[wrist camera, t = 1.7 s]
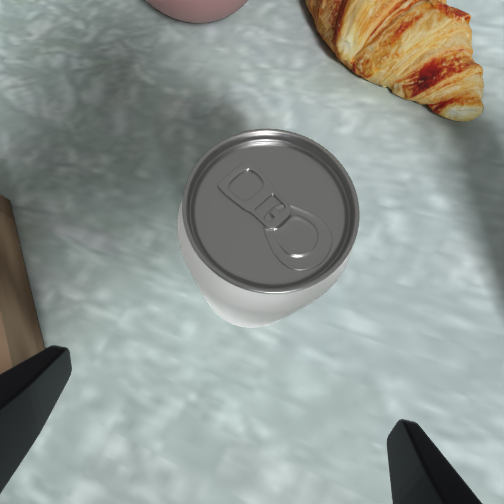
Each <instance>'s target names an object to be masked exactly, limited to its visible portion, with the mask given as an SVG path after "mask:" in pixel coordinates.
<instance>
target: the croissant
mask: <svg viewBox="0 0 504 504" xmlns="http://www.w3.org/2000/svg"><path fill="white" fill-rule="evenodd" d="M305 1H306V5H307V7H308V10H309V12H310V14H311V15H312V17H313V20H314V22H315V26H316V29H317V31H318V33H319V34H320V36H321V37H322V38H323V40H324V41H325V42H326V43H327V45H328V46H329V47H330V48H331V50H332V51H333V52H335V54H336V57H337V58H338V59H339V60H340V61H341V62H342V63H343V64H345V65H346V66H347V67H348V68H349V69H351V70H352V71H353V72H354V73H355V74H357V75H358V76H360V77H362V78H364V79H366V80H368V81H369V82H372V83H374V84H377V85H380V86H383V87H384V88H385V87H389V88H390V89H391V90H392V93H394V94H395V95H397V96H399V97H401V98H403V99H405V100H411V101H416V102H417V103H418V104H428V106H429V107H430V108H431V109H432V110H433V112H434V113H436V114H438V115H440V116H442V117H445V118H448V119H451V120H454V121H471V120H473V119H475V118H477V117H478V116H480V115H481V113H482V112H483V109H484V107H483V104H482V101H481V99H482V97H483V89H482V88H483V87H484V83H483V78H482V75H483V69H482V67H481V66H480V65H479V64H476V63H475V62H474V60H473V58H472V56H471V55H472V54H473V49H472V46H471V44H472V41H471V38H472V30H471V28H470V26H469V25H468V24H469V21H470V19H471V16H470V15H469V14H468V13H466V12H464V11H461V10H459V9H457V8H454V7H449V6H448V5H447V4H446V0H305Z"/></svg>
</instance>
